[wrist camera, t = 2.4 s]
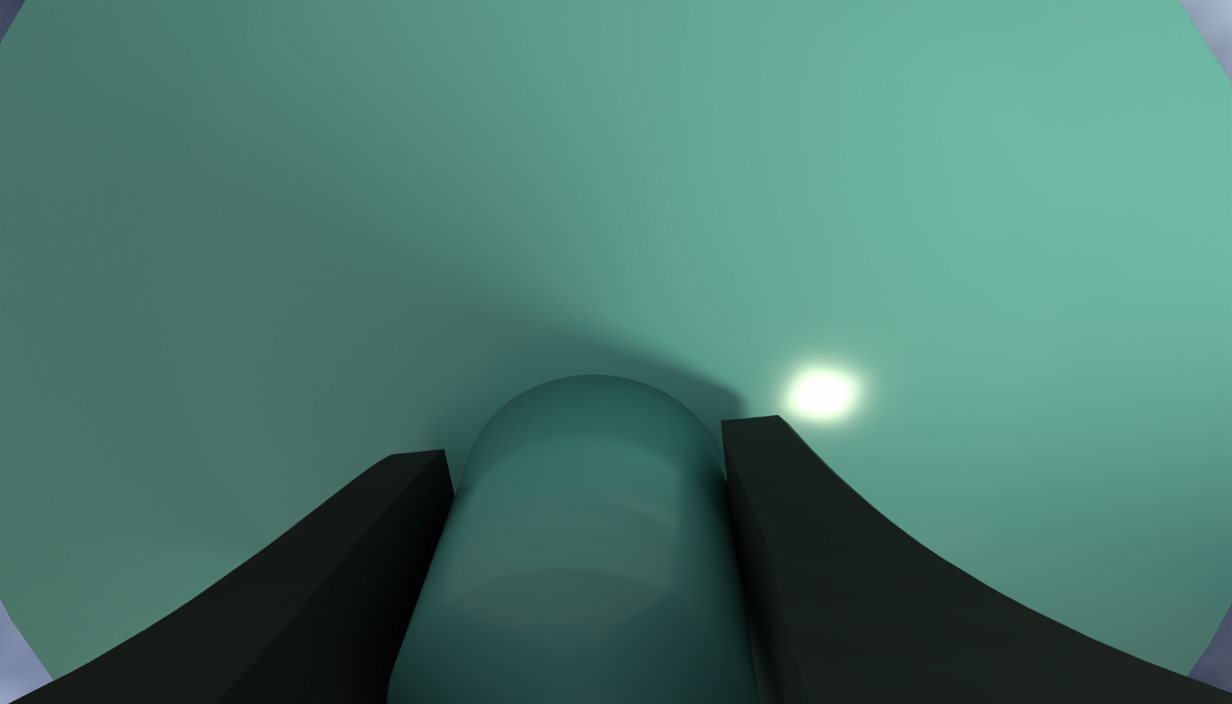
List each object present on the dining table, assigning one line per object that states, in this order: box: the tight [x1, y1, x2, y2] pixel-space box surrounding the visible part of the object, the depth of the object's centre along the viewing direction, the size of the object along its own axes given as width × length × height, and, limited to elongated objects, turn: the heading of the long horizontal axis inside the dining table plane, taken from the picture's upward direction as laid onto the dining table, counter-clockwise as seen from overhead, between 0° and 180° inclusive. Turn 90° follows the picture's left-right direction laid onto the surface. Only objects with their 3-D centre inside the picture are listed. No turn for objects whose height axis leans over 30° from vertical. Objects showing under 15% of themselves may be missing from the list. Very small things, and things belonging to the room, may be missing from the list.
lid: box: [0, 0, 1232, 704], centre depth 10 cm, size 15×15×4 cm
